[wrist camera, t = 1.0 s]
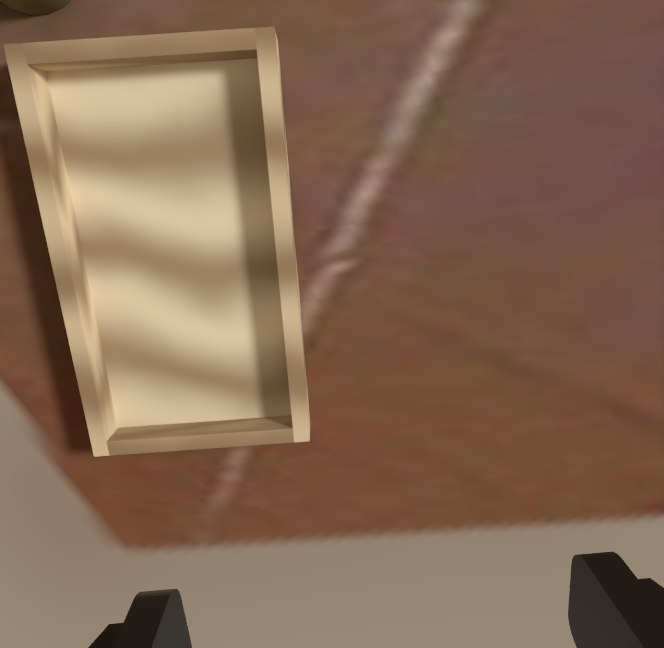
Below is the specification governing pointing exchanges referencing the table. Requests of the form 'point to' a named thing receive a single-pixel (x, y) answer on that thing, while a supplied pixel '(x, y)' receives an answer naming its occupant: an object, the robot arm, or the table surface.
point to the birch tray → (170, 234)
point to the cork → (35, 6)
